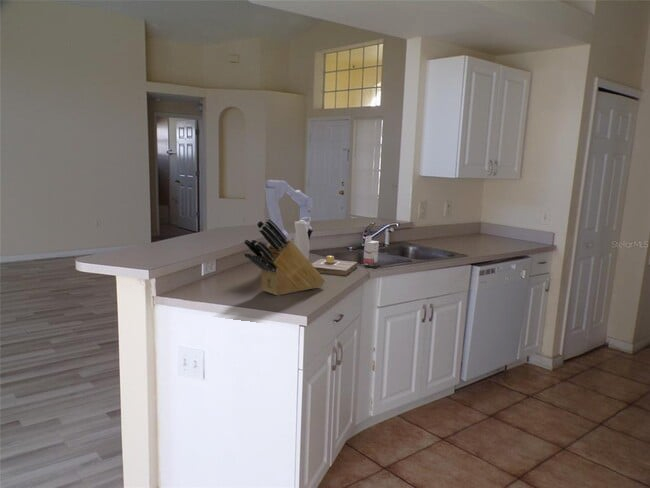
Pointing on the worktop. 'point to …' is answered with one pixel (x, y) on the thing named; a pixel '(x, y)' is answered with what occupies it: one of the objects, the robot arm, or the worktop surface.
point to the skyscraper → (302, 236)
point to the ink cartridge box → (370, 250)
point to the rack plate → (334, 267)
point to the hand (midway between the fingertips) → (304, 244)
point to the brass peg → (329, 259)
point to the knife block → (282, 263)
